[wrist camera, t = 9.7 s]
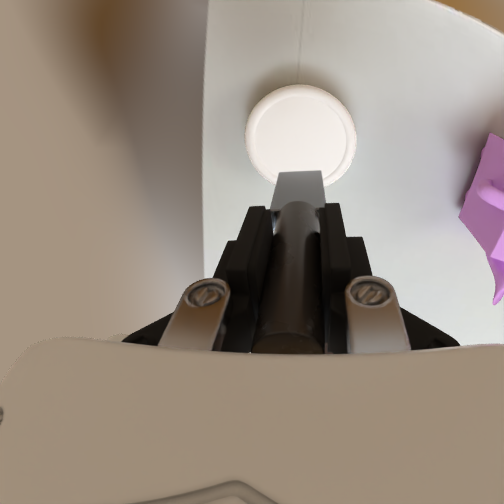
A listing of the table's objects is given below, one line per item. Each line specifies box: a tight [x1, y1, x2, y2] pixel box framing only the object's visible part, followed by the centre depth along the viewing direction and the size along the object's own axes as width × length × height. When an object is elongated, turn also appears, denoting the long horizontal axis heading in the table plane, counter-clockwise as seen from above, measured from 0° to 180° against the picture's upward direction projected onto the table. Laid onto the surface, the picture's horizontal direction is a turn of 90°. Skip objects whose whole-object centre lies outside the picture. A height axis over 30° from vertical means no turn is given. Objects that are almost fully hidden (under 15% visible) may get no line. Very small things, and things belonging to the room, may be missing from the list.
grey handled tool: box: [251, 170, 326, 354], centre depth 12 cm, size 2×2×12 cm
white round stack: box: [245, 84, 357, 187], centre depth 27 cm, size 10×10×4 cm
